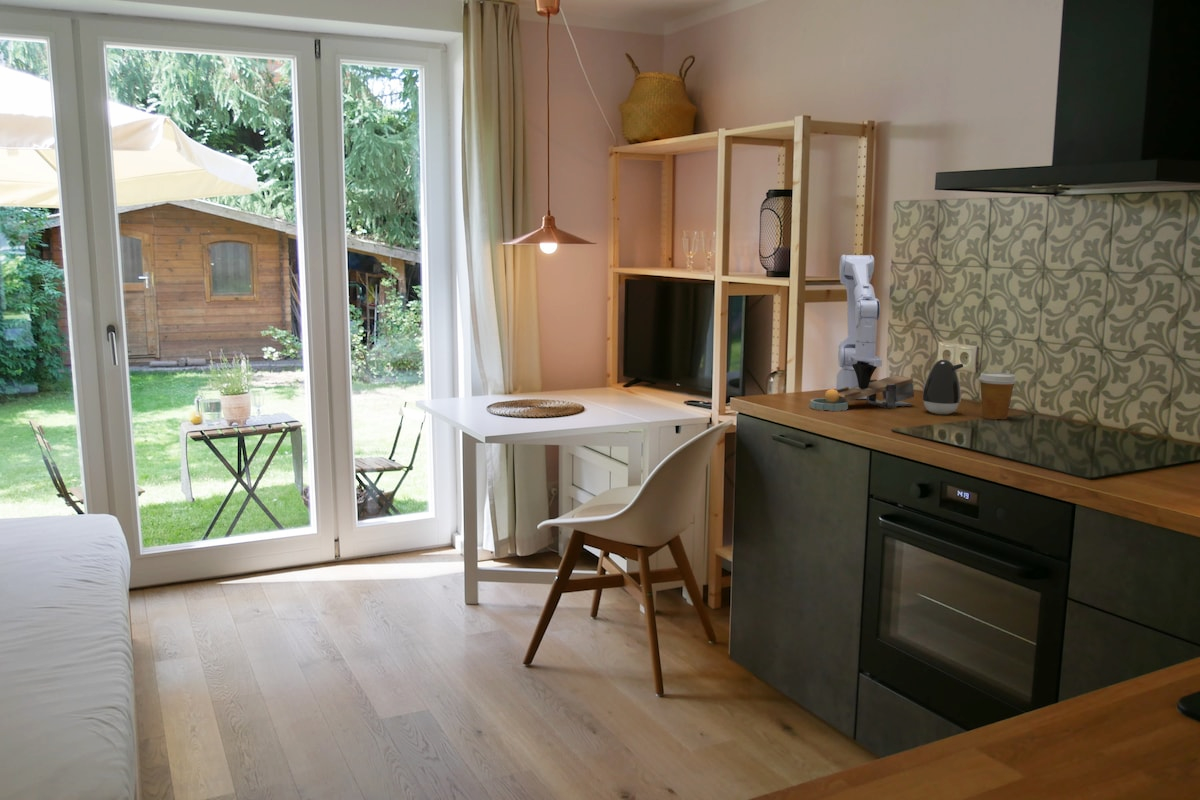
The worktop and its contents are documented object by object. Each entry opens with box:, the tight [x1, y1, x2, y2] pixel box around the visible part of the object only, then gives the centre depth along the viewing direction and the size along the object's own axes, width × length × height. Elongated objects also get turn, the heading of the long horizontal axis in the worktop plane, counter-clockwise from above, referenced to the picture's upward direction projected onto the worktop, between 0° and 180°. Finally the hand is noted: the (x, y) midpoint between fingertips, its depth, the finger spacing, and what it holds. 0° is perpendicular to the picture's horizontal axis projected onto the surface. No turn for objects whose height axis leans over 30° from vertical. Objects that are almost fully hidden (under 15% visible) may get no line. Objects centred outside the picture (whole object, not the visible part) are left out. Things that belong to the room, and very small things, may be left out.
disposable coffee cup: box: [978, 371, 1017, 420], centre depth 269 cm, size 10×10×12 cm
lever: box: [837, 374, 915, 403], centre depth 286 cm, size 22×8×6 cm, turn 106°
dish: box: [809, 397, 849, 412], centre depth 283 cm, size 11×11×2 cm
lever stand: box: [866, 378, 912, 410], centre depth 288 cm, size 9×11×7 cm
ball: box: [824, 388, 839, 403], centre depth 282 cm, size 4×4×4 cm
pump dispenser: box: [922, 359, 964, 415], centre depth 275 cm, size 10×10×15 cm
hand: (863, 388), depth 285 cm, fingers closed, pressing on lever
